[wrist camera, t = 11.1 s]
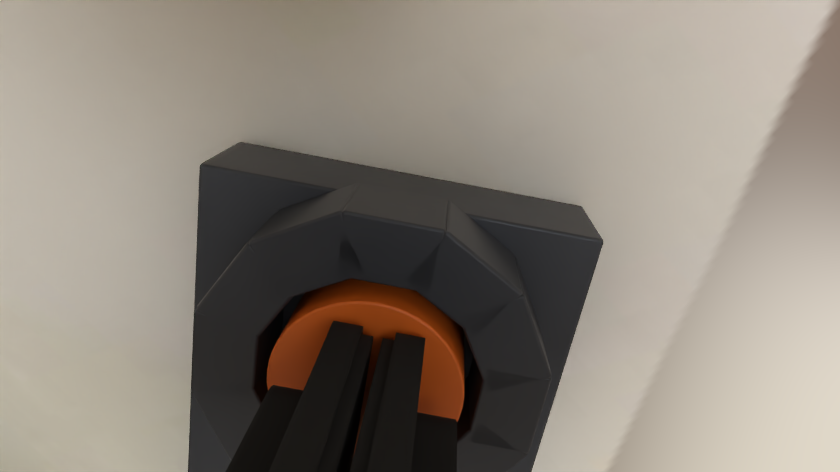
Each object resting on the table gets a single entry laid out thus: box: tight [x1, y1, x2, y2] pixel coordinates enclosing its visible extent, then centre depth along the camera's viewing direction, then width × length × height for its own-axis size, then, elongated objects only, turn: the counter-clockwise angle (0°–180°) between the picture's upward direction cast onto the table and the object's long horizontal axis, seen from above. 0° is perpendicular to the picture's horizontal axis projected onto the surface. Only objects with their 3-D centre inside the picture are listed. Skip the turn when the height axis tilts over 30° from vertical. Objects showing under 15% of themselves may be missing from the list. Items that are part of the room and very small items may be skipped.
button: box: [267, 279, 465, 452], centre depth 11 cm, size 4×4×2 cm
